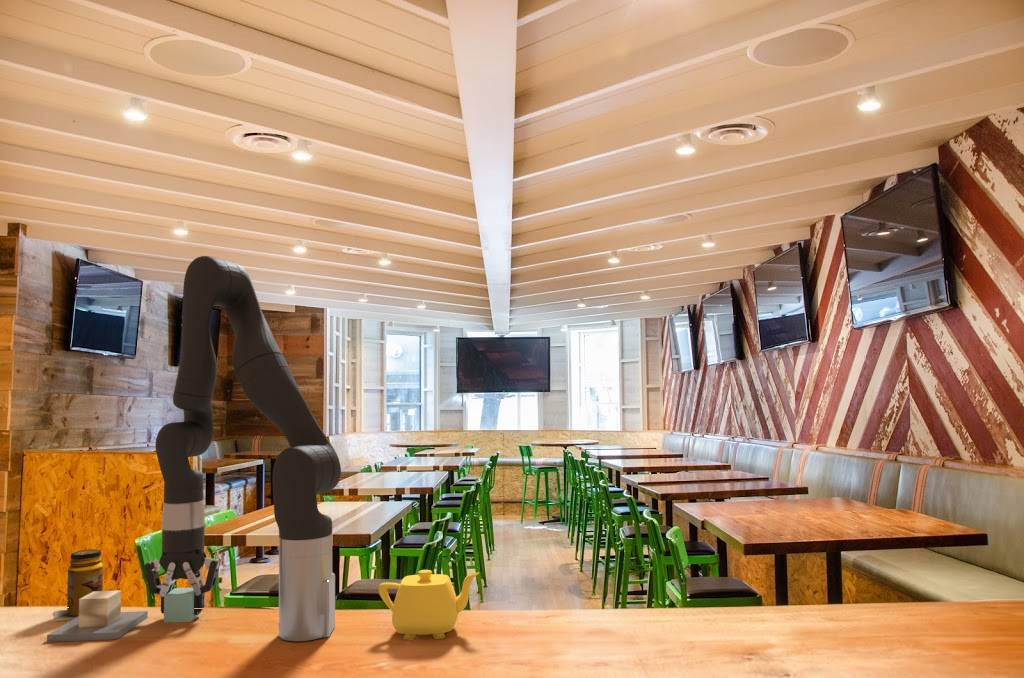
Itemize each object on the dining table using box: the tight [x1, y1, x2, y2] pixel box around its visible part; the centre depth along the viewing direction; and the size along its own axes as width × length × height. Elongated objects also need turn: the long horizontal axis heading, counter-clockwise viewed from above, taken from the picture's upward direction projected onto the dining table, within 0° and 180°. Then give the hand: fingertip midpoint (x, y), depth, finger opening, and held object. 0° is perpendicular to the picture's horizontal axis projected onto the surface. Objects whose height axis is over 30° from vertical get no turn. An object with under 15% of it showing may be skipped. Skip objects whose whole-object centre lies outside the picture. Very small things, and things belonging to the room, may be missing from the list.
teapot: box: [377, 569, 480, 641], centre depth 128 cm, size 18×11×11 cm, turn 92°
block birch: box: [79, 590, 122, 627], centre depth 133 cm, size 5×5×5 cm
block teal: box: [163, 587, 202, 624], centre depth 139 cm, size 5×5×5 cm
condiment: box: [53, 548, 104, 623], centre depth 143 cm, size 7×8×12 cm
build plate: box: [46, 610, 149, 643], centre depth 133 cm, size 12×12×1 cm
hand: (182, 614), depth 139 cm, fingers closed on block teal, 5 cm apart
